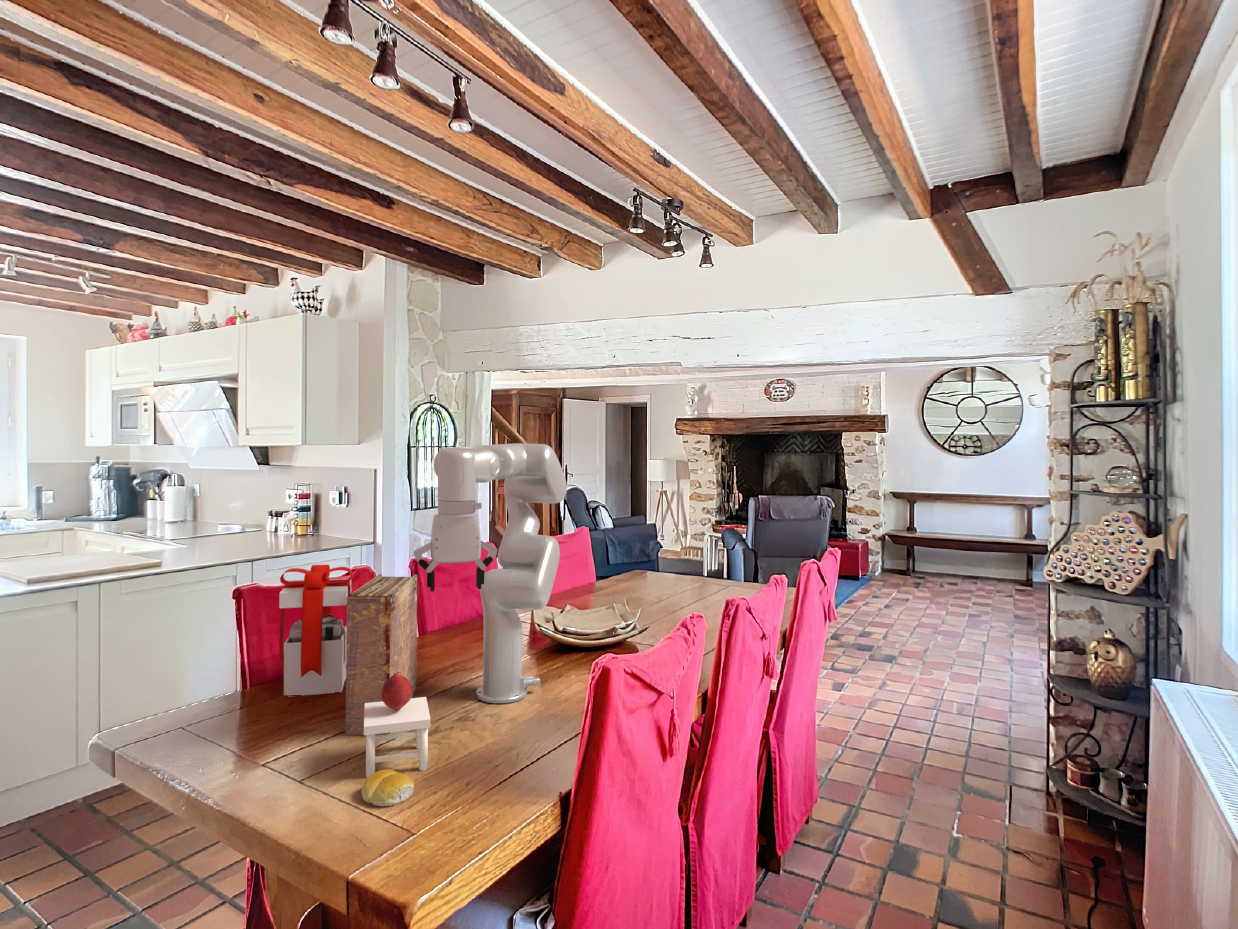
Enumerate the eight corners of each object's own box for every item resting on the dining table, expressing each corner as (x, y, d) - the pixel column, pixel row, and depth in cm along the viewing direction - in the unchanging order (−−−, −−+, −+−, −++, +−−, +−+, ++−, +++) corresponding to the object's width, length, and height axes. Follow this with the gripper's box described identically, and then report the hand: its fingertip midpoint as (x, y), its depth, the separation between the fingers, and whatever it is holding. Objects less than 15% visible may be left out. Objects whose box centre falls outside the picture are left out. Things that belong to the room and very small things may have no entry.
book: (379, 692, 171) (380, 573, 170) (416, 692, 172) (417, 573, 171) (345, 736, 146) (346, 596, 145) (389, 735, 146) (390, 597, 145)
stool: (425, 744, 143) (426, 696, 142) (429, 770, 131) (430, 719, 131) (364, 751, 138) (364, 703, 138) (363, 779, 127) (363, 727, 127)
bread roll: (388, 779, 128) (388, 758, 128) (421, 793, 123) (421, 771, 123) (350, 798, 121) (350, 776, 121) (384, 813, 116) (384, 790, 116)
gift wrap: (273, 700, 164) (273, 576, 163) (286, 676, 181) (286, 564, 180) (349, 694, 169) (350, 574, 168) (355, 671, 185) (356, 562, 184)
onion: (395, 719, 131) (395, 678, 130) (374, 712, 134) (375, 672, 133) (418, 709, 136) (418, 669, 135) (398, 703, 139) (398, 664, 138)
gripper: (494, 506, 150) (493, 583, 151) (412, 507, 144) (412, 587, 145) (500, 509, 143) (499, 590, 144) (414, 511, 137) (413, 595, 138)
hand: (455, 589), depth 144 cm, fingers open, 9 cm apart
